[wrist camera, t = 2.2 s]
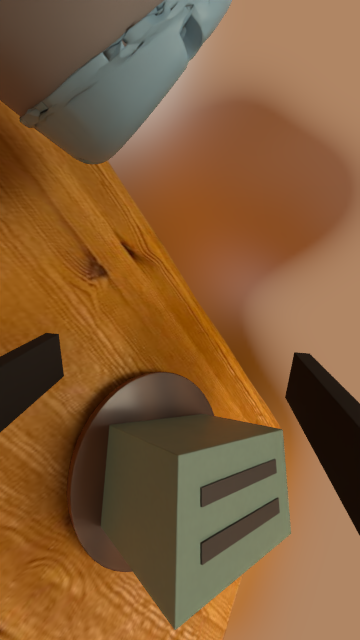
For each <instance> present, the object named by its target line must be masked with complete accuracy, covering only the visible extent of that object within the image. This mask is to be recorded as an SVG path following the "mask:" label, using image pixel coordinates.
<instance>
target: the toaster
mask: <svg viewBox="0 0 360 640" xmlns="http://www.w3.org/2000/svg"><path fill="white" fill-rule="evenodd" d="M67 502H68V511H69V515H70V520H71V523H72V526H73V528H74V531H75V534H76V536H77V538H78V539H79V541H80V543H81V544H82V546H83V548H84V549H85V551H86V552H87V553H88V554H89V555H90V557H91V558H92V559H93V560H94V561H96V562H97V563H99V564H100V565H102V566H103V567H105V568H108V569H111V570H114V571H120V572H132V571H133V572H134V574H135V575H136V576H137V578H138V579H139V581H140V582H141V583H142V585H143V586H144V588H145V589H146V590H147V592H148V593H149V595H150V596H151V597H152V599H153V600H154V602H155V603H156V604H157V606H158V607H159V609H160V610H161V611H162V613H163V614H164V616H165V617H166V618H167V620H168V621H169V623H170V624H171V625H172V627H173V628H174V629H175V630H176V629H177V628H178V627H180V626H181V625H182V624H183V623H184V622H186V621H187V620H188V619H189V618H190V617H192V616H193V615H194V614H195V613H196V612H198V611H199V610H200V609H201V608H202V607H204V606H205V605H206V604H207V603H208V602H210V601H211V600H212V599H213V598H214V597H216V596H217V595H218V594H219V593H220V592H222V591H223V590H224V589H225V588H226V587H228V586H229V585H230V584H231V583H232V582H234V581H235V580H236V579H237V578H238V577H240V576H241V575H242V574H243V573H244V572H246V571H247V570H248V569H249V568H250V567H251V566H253V565H254V564H255V563H256V562H258V561H259V560H260V559H261V558H262V557H264V556H265V555H266V554H267V553H268V552H270V551H271V550H272V549H273V548H274V547H275V546H277V545H278V544H279V543H280V542H282V541H283V540H284V539H285V538H286V537H288V536H289V535H290V534H291V527H290V514H289V502H288V491H287V478H286V465H285V452H284V440H283V430H282V429H277V428H272V427H267V426H262V425H257V424H252V423H247V422H242V421H236V420H231V419H226V418H221V417H216V416H214V414H213V411H212V408H211V406H210V404H209V402H208V400H207V399H206V397H205V395H204V394H203V393H202V391H201V390H200V389H199V388H198V387H197V386H196V385H195V384H194V383H192V382H191V381H190V380H188V379H187V378H184V377H182V376H180V375H177V374H174V373H167V372H154V373H147V374H142V375H139V376H137V377H134V378H132V379H130V380H128V381H126V382H124V383H123V384H121V385H120V386H118V387H117V388H116V389H114V390H113V391H112V392H111V393H110V394H109V395H108V396H107V397H105V398H104V400H103V401H102V402H101V403H100V404H99V405H98V406H97V408H96V409H95V410H94V412H93V413H92V415H91V416H90V418H89V419H88V421H87V423H86V424H85V426H84V428H83V430H82V432H81V434H80V436H79V438H78V441H77V443H76V446H75V449H74V452H73V455H72V459H71V462H70V468H69V473H68V482H67Z"/></svg>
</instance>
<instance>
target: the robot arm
mask: <svg viewBox="0 0 360 640" xmlns="http://www.w3.org/2000/svg"><path fill="white" fill-rule="evenodd" d="M231 1H232V0H0V100H1V101H2V102H3V103H5V104H6V105H7V106H8V107H10V108H11V109H12V110H13V111H15V112H16V113H17V114H18V115H20V122H21V123H22V124H24V125H25V126H27V127H28V128H35V129H36V130H38V131H39V132H40V133H42V134H43V135H44V136H46V137H47V138H48V139H50V140H51V141H52V142H54V143H55V144H56V145H58V146H59V147H60V148H62V149H63V150H64V151H66V152H67V153H68V154H70V155H71V156H72V157H74V158H75V159H77V160H79V161H81V162H83V163H86V164H100V163H103V162H105V161H107V160H109V159H110V158H111V157H112V156H114V155H115V154H116V153H117V152H118V151H119V150H120V149H121V148H122V147H123V145H124V144H125V143H126V142H127V141H128V140H129V139H130V138H131V137H132V135H133V134H134V133H135V132H136V131H137V130H138V128H139V127H140V126H141V125H142V123H144V121H145V120H146V119H147V118H148V117H149V115H150V114H151V113H152V112H153V110H154V109H155V108H156V107H157V105H158V104H159V103H160V102H161V100H162V99H163V98H164V96H165V95H166V94H167V93H168V92H169V90H170V89H171V88H172V86H173V85H174V84H175V82H176V81H177V80H178V78H179V77H180V76H181V74H182V73H183V72H184V70H185V69H186V67H187V65H188V62H189V61H190V60H191V59H192V58H193V57H194V56H195V55H196V53H197V52H198V50H199V49H200V47H201V46H202V44H203V43H204V42H205V41H206V40H207V38H208V37H209V36H210V35H211V34H212V33H213V31H214V30H215V28H216V27H217V26H218V24H219V22H220V21H221V19H222V18H223V16H224V15H225V13H226V12H227V10H228V8H229V6H230V4H231ZM63 376H64V374H63V366H62V358H61V350H60V342H59V334H51V333H45V334H43V335H41V336H40V337H38V338H36V339H34V340H32V341H30V342H28V343H26V344H24V345H22V346H20V347H18V348H16V349H14V350H12V351H10V352H9V353H7V354H5V355H3V356H1V357H0V432H1V431H2V430H3V429H5V428H6V427H7V426H8V425H9V424H10V423H11V422H12V421H14V420H15V419H16V418H17V417H18V416H19V415H20V414H22V413H23V412H24V411H25V410H26V409H27V408H28V407H29V406H31V405H32V404H33V403H34V402H35V401H36V400H37V399H39V398H40V397H41V396H42V395H43V394H44V393H45V392H46V391H48V390H49V389H50V388H51V387H52V386H53V385H54V384H55V383H57V382H58V381H59V380H60V379H61V378H62V377H63ZM285 398H286V399H287V401H288V403H289V405H290V407H291V408H292V411H293V413H294V414H295V416H296V418H297V420H298V422H299V424H300V426H301V427H302V429H303V431H304V433H305V435H306V437H307V439H308V441H309V442H310V444H311V446H312V448H313V450H314V452H315V453H316V455H317V457H318V459H319V461H320V463H321V465H322V466H323V468H324V470H325V472H326V474H327V476H328V478H329V479H330V481H331V483H332V485H333V487H334V489H335V490H336V492H337V494H338V496H339V498H340V500H341V501H342V504H343V505H344V507H345V509H346V511H347V513H348V515H349V516H350V518H351V520H352V522H353V524H354V526H355V528H356V530H357V531H358V533H359V535H360V404H359V402H358V401H356V399H355V398H354V397H353V396H351V395H350V393H349V392H347V391H346V390H345V388H344V387H342V386H341V385H340V384H339V382H338V381H337V380H335V379H334V377H332V376H331V375H330V374H329V373H328V372H327V371H326V370H325V369H324V368H323V367H322V366H321V365H320V364H319V363H318V362H317V361H316V360H315V359H314V358H313V357H312V356H311V355H310V354H306V353H294V357H293V362H292V367H291V372H290V377H289V382H288V387H287V391H286V397H285Z"/></svg>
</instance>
